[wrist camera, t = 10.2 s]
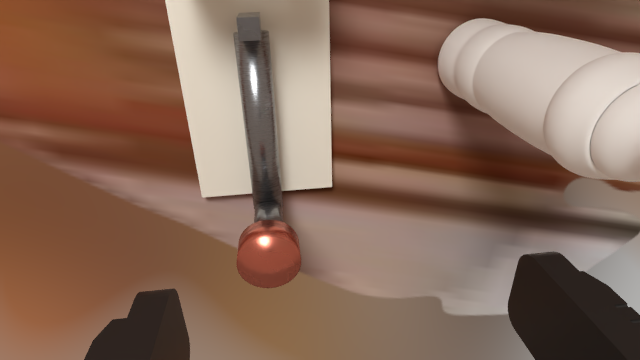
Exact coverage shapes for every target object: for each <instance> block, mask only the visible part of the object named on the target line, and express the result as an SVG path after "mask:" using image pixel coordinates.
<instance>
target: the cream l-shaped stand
mask: <svg viewBox="0 0 640 360" xmlns="http://www.w3.org/2000/svg"><path fill="white" fill-rule="evenodd" d="M165 2H166V7H167V12H168V18H169V23H170V28H171V34H172V39H173V44H174V50H175V55H176V60H177V66H178V71H179V76H180V82H181V87H182V92H183V98H184V103H185V108H186V114H187V119H188V124H189V130H190V135H191V140H192V146H193V151H194V156H195V162H196V167H197V172H198V178H199V183H200V188H201V194H202V197H214V196H227V195H239V194H251V193H252V186H251V178H250V170H249V162H248V153H247V145H246V137H245V128H244V120H243V112H242V104H241V95H240V87H239V79H238V70H237V62H236V54H235V46H234V37H233V33H234V32H238V29H237V20H236V17H237V16H238V14H239V13H247V12H260V21H261V30H267V31H269V39H270V51H271V64H272V76H273V88H274V100H275V113H276V125H277V137H278V149H279V161H280V174H281V186H282V191H288V190H301V189H313V188H325V187H332V151H331V89H330V27H329V0H165Z"/></svg>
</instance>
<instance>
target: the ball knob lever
mask: <svg viewBox="0 0 640 360" xmlns="http://www.w3.org/2000/svg"><path fill="white" fill-rule="evenodd" d="M236 20H237V29H238V32H234V33H233V37H234V46H235V54H236V62H237V70H238V79H239V87H240V95H241V104H242V112H243V120H244V128H245V137H246V145H247V153H248V162H249V170H250V178H251V186H252V195H253V203H254V209H255V217H254V223H253V224H251V225H250V226H248V227H247V228H246V229H245V230H244V231H243V233H242V234H241V236H240V239H239V244H238V254H237V269H238V272H239V274H240V275H241V277H242V278H243V279H244V280H245V281H247V282H248V283H250V284H252V285H254V286H257V287H262V288H273V287H278V286H281V285H284V284H286V283H288V282H289V281H291V280H292V279H293V278H294V277H295V276H296V275H297V273H298V272H299V269H300V266H301V255H300V247H299V239H298V236H297V234H296V232H295V231H294V230H293V229H292V228H291V227H290V226H289V225H287V224H286V223H283V212H282V207H283V198H282V186H281V174H280V161H279V149H278V137H277V125H276V113H275V100H274V88H273V76H272V64H271V51H270V39H269V31H267V30H261V21H260V12H247V13H239V14H238V16H237V17H236Z"/></svg>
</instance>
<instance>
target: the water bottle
mask: <svg viewBox="0 0 640 360" xmlns="http://www.w3.org/2000/svg"><path fill="white" fill-rule="evenodd" d="M438 72H439V76H440V79H441V81H442V83H443V84H444V86H445V87H446V88H447V89H448V90H449V91H450V92H452V93H453V94H455V95H456V96H458V97H460V98H462V99H464V100H466V101H467V102H468V103H469V104H470V105H472V106H473V107H475V108H476V109H478V110H480V111H482V112H484V113H487V114H488V115H490V116H491V117H492V118H493V119H494V120H496V121H497V122H498V123H499V124H501V125H502V126H504V127H505V128H506V129H508V130H509V131H511V132H512V133H514V134H515V135H517V136H518V137H520V138H521V139H523V140H524V141H526V142H528V143H529V144H531V145H533V146H534V147H536V148H538V149H540V150H542V151H544V152H545V153H547V154H549V155H552V157H553V158H554V159H555V160H556V161H557V162H558V163H559V164H560V165H561V166H563V167H564V168H566V169H567V170H569V171H571V172H573V173H575V174H578V175H580V176H584V177H588V178H594V179H610V180H621V181H627V182H640V53H634V52H619V51H616V50H614V49H611V48H608V47H605V46H601V45H598V44H594V43H591V42H587V41H583V40H579V39H575V38H570V37H565V36H561V35H555V34H549V33H542V32H534V31H533V30H531V29H528V28H525V27H522V26H517V25H509V24H505V23H503V22H500V21H497V20H493V19H486V18H480V19H474V20H470V21H467V22H465V23H463V24H462V25H460V26H458V27H457V28H456V29H455V30H454V31H452V32H451V34H450V35H449V36H448V37H447V38H446V40H445V42H444V43H443V45H442V47H441V50H440V53H439V57H438Z"/></svg>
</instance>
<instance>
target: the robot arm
mask: <svg viewBox="0 0 640 360" xmlns="http://www.w3.org/2000/svg"><path fill="white" fill-rule="evenodd" d="M508 313H509V318H510V321H511V323H512V325H513V327H514V329H515V331H516V332H517V334H518V335H519V337H520V338H521V339H522V341H523V342H524V344H525V345H526V347H527V348H528V350H529V351H530V353H531V354H532V355H533V357H534V358H535V360H640V315H639V314H638V313H637V312H636V311H635V310H634V309H633V308H631V307H628V306H627V303H626V302H625V301H624V300H623V299H622V298H621V297H620V296H618V294H616V293H615V292H614V291H613V290H612V289H611V288H610V287H609V286H608V285H606V284H604V283H602V282H601V281H599V280H597V279H596V278H594V277H592V276H591V275H589V274H587V273H585V272H584V271H579V270H578V269H576V268H575V267H574V266H573V265H572V264H571V263H570V262H569V261H568V260H567V259H566V258H565V257H564V256H563V255H562V254H560V253H558V252H545V253H535V254H526V255H523V256H521V257H520V259H519V261H518V265H517V269H516V273H515V277H514V281H513V285H512V289H511V293H510V297H509V301H508ZM84 360H190V343H189V336H188V332H187V328H186V325H185V320H184V317H183V312H182V308H181V304H180V300H179V296H178V293H177V291H176V290H175V289H165V290H155V291H145V292H139V293H138V294H137V295H136V297H135V299H134V302H133V304H132V307H131V309H130V312H129V314H128V317H127V318H123V319H115V320H112V321H111V322H110V323H109V324H108V325H107V326H106V327H105V328H104V329H103V330H102V331H101V333H100V334H99V335H98V336H97V337H96V338H95V339H94V340H93V342H92V344H91V346H90V348H89V351H88V353H87V355H86V357H85V359H84Z"/></svg>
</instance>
